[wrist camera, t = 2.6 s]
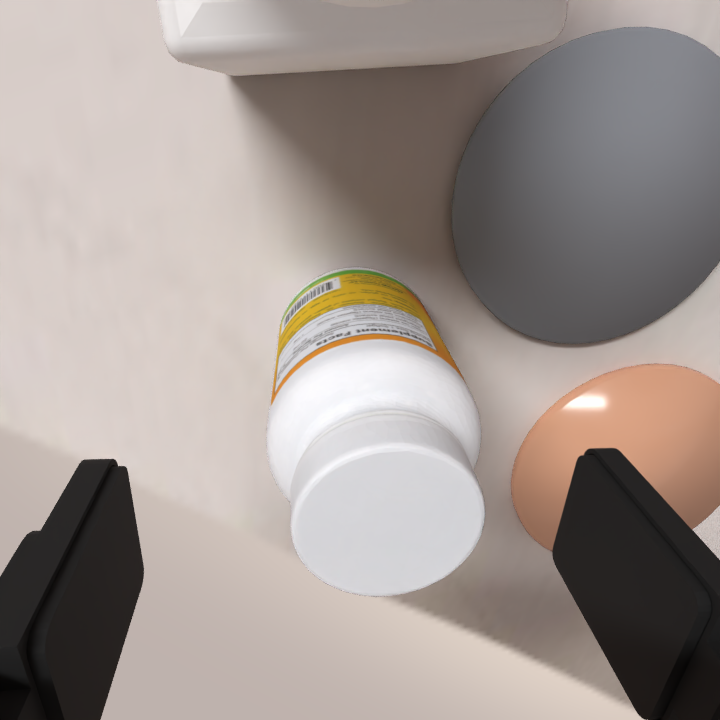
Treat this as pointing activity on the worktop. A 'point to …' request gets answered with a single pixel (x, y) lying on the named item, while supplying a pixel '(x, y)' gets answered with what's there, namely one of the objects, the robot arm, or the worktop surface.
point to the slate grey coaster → (594, 186)
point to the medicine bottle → (350, 32)
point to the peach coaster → (625, 442)
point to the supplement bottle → (373, 437)
